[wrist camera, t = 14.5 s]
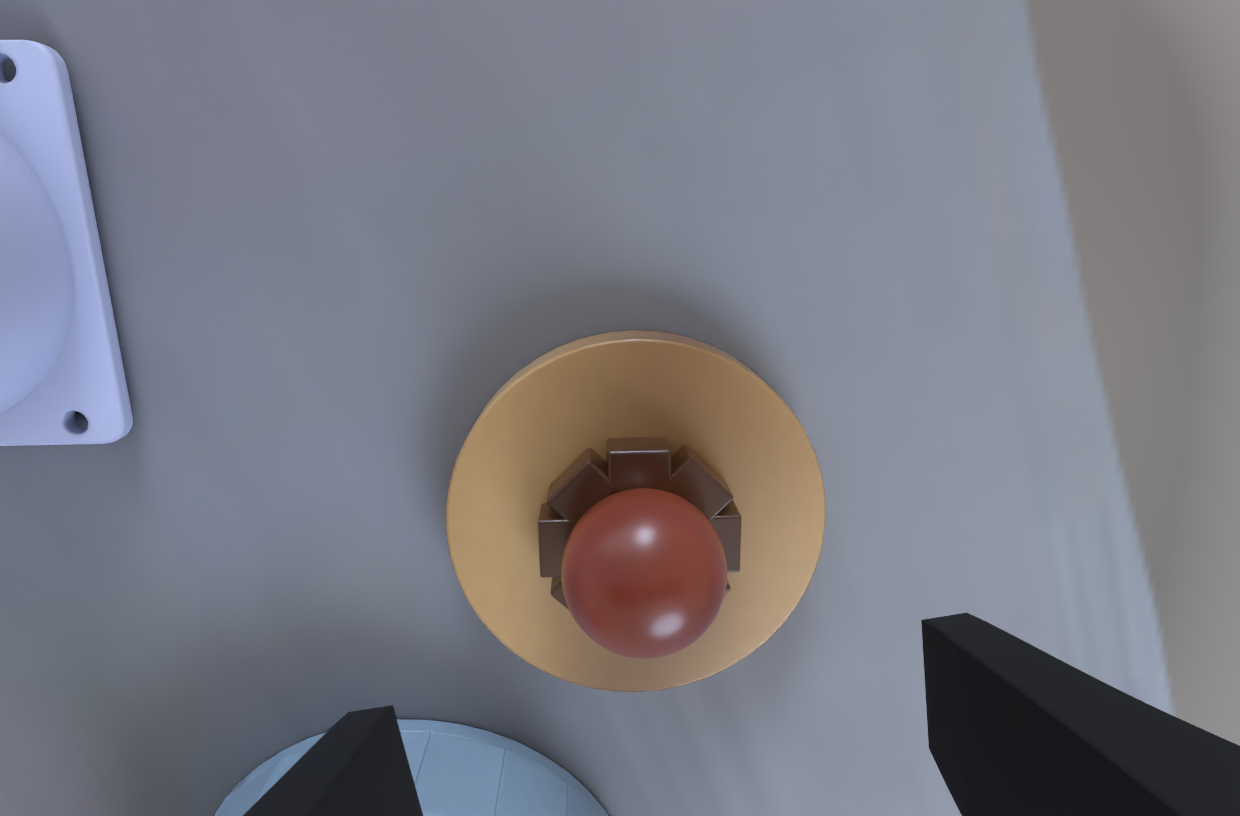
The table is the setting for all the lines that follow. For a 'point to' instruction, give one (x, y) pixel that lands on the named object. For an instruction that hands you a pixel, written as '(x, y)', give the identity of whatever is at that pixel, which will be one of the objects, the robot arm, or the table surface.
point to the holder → (628, 459)
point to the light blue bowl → (453, 775)
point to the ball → (644, 573)
